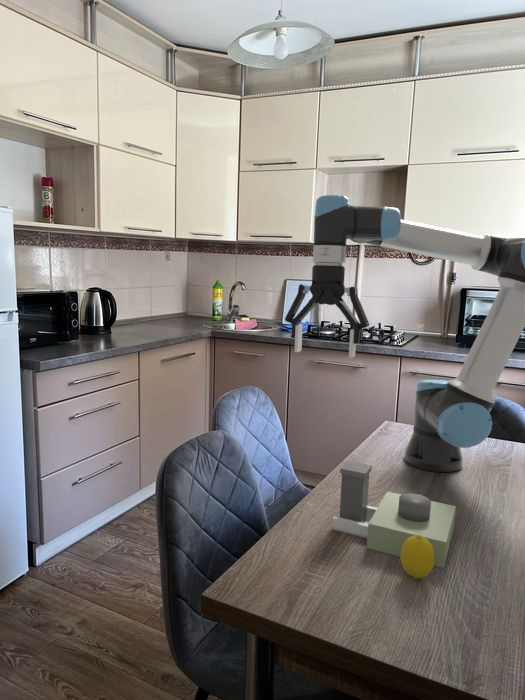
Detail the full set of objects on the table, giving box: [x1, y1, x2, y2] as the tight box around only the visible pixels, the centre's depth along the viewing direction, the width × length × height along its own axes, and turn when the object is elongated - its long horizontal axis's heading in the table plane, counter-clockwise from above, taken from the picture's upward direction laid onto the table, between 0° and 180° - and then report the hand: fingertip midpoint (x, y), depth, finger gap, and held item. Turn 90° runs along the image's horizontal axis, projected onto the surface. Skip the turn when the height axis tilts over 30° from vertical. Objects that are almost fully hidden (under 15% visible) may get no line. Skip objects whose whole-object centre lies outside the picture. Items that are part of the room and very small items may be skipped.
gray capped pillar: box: [339, 460, 373, 523], centre depth 107 cm, size 5×5×12 cm
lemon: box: [400, 535, 435, 580], centre depth 89 cm, size 6×6×8 cm
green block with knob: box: [331, 491, 457, 569], centre depth 104 cm, size 22×16×8 cm
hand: (324, 354), depth 125 cm, fingers open, 13 cm apart
